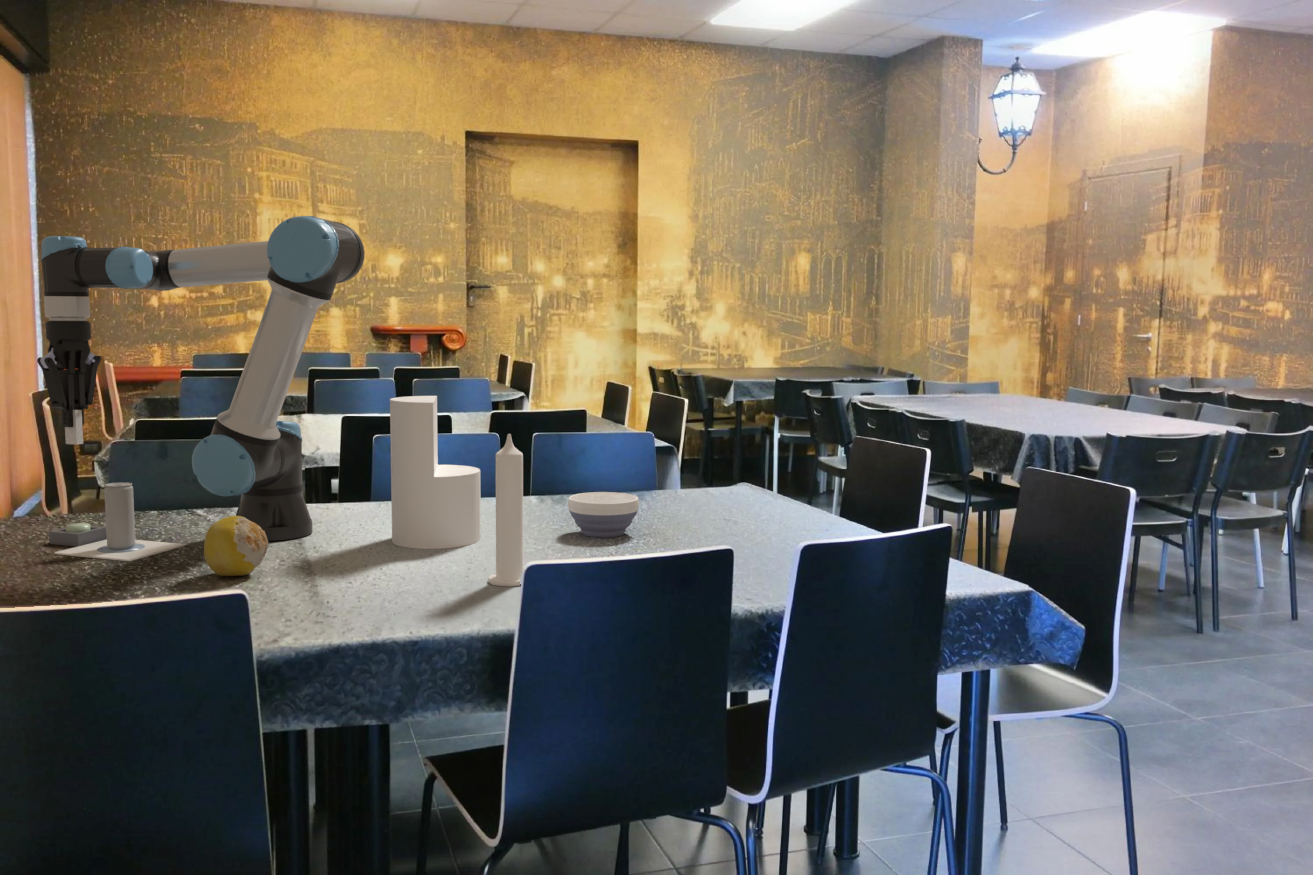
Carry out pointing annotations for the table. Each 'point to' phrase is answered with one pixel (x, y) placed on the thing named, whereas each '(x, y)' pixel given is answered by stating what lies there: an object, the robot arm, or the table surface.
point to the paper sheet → (136, 552)
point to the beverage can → (119, 515)
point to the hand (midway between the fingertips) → (74, 443)
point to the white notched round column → (429, 482)
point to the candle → (509, 516)
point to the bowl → (603, 512)
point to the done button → (78, 527)
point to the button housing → (77, 536)
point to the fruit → (234, 546)
